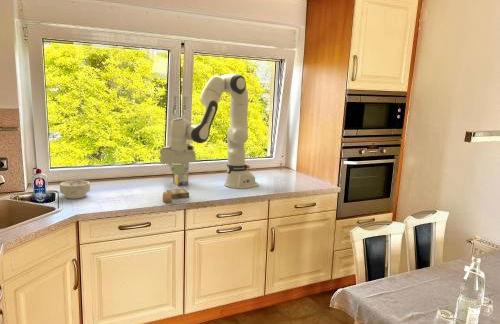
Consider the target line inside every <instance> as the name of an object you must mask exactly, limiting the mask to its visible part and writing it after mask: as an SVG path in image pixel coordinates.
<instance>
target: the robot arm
mask: <svg viewBox="0 0 500 324" xmlns="http://www.w3.org/2000/svg"><path fill="white" fill-rule="evenodd" d="M206 82H207V83H206V84H205V86H204V87H203V89H202V90H201V94H200V96H199V100H200V103H201V105H202V106H203V107H204V113H203V115H202V118H201V121H200V123H198V124H197V123H196V124H195V123H193V122H190V121H189V120H187V119H186V118H185V117H175V118H173V119H172V120H171V122H170V129H169V131H170V139H169V140H170V141H169V142H170V143H169V146H162V147H161V148H160V150H159V155H160V157H159V163H161V164H162V165H165V164H166V165H168V166H169V169H170V172H172V171H174V170H173V169H174V168H173V167H172V164H173V163H184V164H185V165H184V170H185V167H186V166H187V163H188V164H189V163H195V162H196V159H197V157H196V152H195V146H193V145H191V144H189V143H187V140H189V141H192V142H195V143H198V144H204V143H205V142H207V141H208V139H209V137H210V133H211V128H212V126H213V125H212V124H213V122H214V120H215V117H216V114H217V112H218V108H219V105H218V104H219V101H220V99H221V97H222V95H223V93H224V92H225V93H230V108H229V120H230V124H229V125H230V126H229V127H228V128H227V131H226V132H227V133H226V137H227V140H226V141H227V143H226V144H227V165H226V178H225V182H224V186H225V187H228V188H232V189H240V190H242V189H249V188H254V187H259V185H260V184H259V183H258V182H257V181H256V176H255V175H254V174H253V173H252V172H250V171H249V170H248V169H250V168H251V166H250V165H249V164H245V163H246V162H245V161H246V151H245V150H246V149H245V143H246V142H247V141H248V139H249V133H248V132H249V131H248V128H249V127H248V125H249V124H248V113H249V112H248V110H249V93H248V89H247V88H246V87H247V81H246V78H245V77H244V76H243V75H242V74H238V73H236V74H235V73H228V74H227V73H226V74H220V75H213V76H211V77H210V78H209V79H208V81H206Z"/></svg>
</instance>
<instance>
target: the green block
mask: <svg viewBox="0 0 500 324" xmlns="http://www.w3.org/2000/svg"><path fill="white" fill-rule="evenodd" d="M171 167H173V168H174V169H173V170H174V171H171V173H172V175H173V174H174V175H176V174H184V165H183V164H173V163H172V165H171Z"/></svg>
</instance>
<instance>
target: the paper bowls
mask: <svg viewBox="0 0 500 324" xmlns="http://www.w3.org/2000/svg"><path fill="white" fill-rule="evenodd" d="M59 192H60V194H62V195H64V197H65V198H67V199H72V200H75V199H82V198H84V197H86V195H87V193H90V192H91V182H90V181H88V180H82V179H79V180H78V179H76V180H75V179H74V180H67V181H62V182H60V183H59Z"/></svg>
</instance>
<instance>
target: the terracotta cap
mask: <svg viewBox="0 0 500 324" xmlns="http://www.w3.org/2000/svg"><path fill="white" fill-rule="evenodd" d="M162 202H163V203H165V204H167V203H168V202H169V203H171V202H172V198H171V192H167V191H163V192H162Z"/></svg>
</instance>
